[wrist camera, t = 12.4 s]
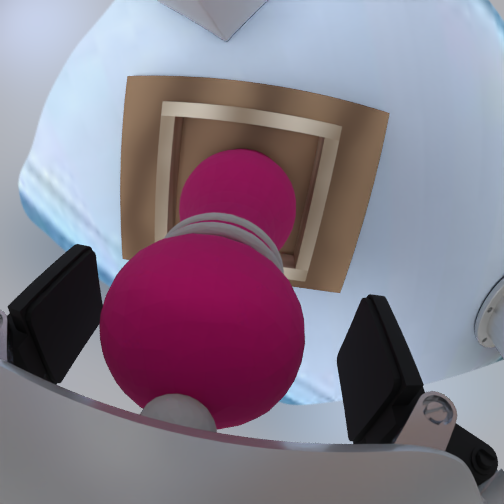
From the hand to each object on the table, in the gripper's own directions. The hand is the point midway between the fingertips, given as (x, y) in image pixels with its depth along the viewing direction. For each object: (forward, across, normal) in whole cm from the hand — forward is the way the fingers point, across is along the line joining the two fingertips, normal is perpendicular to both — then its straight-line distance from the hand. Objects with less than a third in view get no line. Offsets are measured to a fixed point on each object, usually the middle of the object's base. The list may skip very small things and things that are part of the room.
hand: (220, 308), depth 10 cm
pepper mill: (+15, +1, 0) cm, 15 cm away
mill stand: (+16, +1, 0) cm, 16 cm away
